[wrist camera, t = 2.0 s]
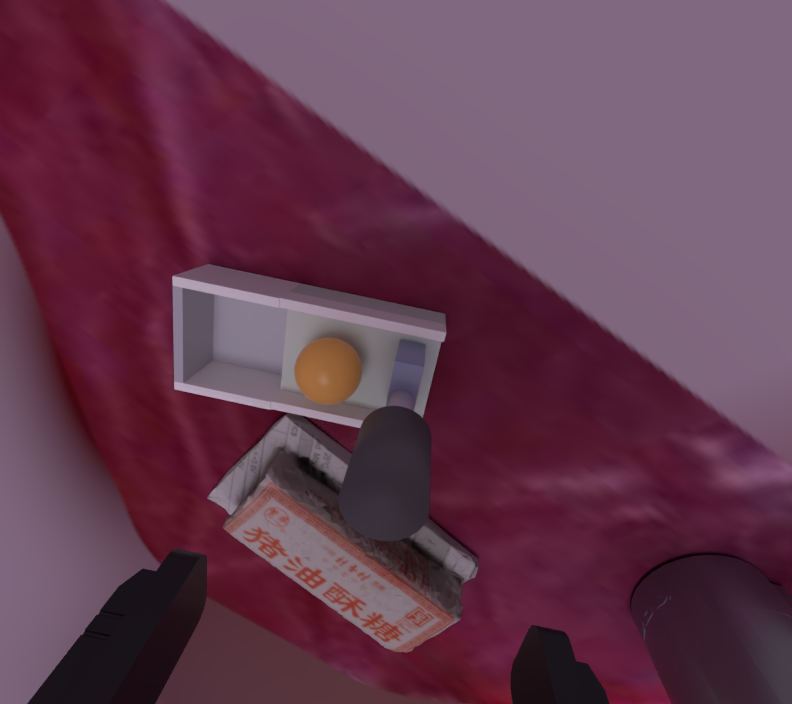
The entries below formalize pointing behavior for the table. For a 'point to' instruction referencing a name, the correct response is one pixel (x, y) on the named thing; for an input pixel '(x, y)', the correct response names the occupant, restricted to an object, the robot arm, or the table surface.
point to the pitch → (370, 337)
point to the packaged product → (340, 539)
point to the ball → (328, 371)
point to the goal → (229, 334)
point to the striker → (391, 459)
